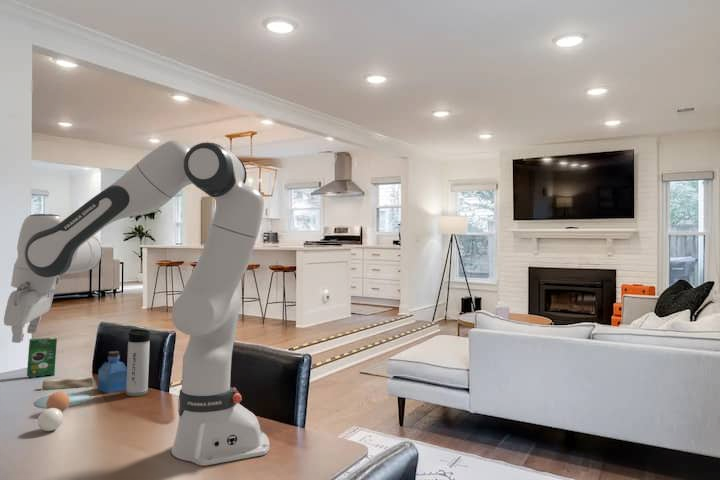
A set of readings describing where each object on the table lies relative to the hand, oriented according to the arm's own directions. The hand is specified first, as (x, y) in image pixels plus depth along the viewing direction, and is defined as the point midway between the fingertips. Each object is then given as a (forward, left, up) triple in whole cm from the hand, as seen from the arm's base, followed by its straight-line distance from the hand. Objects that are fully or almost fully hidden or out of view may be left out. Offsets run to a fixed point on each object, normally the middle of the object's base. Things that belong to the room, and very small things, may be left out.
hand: (24, 337), depth 119 cm
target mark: (-2, -30, -25) cm, 39 cm away
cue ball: (-5, -5, -22) cm, 23 cm away
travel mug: (-22, -33, -25) cm, 47 cm away
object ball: (-4, -19, -22) cm, 29 cm away
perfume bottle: (-15, -39, -25) cm, 49 cm away
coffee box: (+10, -59, -25) cm, 65 cm away
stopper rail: (-1, -44, -25) cm, 50 cm away
